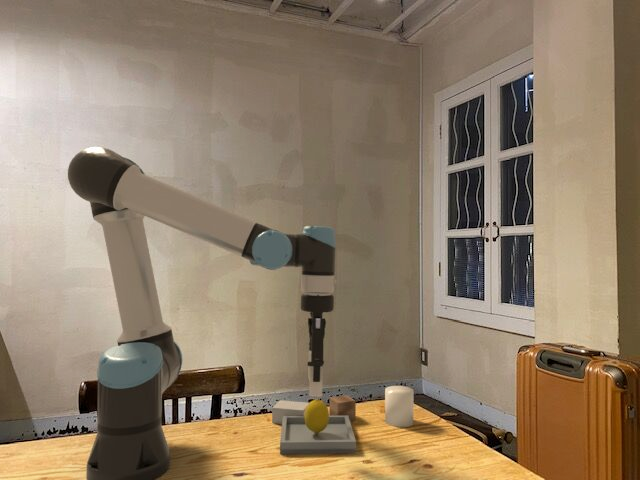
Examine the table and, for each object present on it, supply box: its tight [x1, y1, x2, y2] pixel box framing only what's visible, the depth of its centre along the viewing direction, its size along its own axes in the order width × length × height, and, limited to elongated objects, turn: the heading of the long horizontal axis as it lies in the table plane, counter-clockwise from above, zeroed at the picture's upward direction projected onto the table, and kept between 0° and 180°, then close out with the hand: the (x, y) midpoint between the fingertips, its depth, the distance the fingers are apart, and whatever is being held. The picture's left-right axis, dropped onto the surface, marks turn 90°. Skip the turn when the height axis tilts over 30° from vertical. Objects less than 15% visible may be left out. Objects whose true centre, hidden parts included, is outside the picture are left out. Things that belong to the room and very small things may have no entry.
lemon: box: [305, 398, 329, 434], centre depth 109 cm, size 6×6×8 cm
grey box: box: [271, 399, 310, 425], centre depth 120 cm, size 8×6×4 cm
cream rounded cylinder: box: [384, 385, 415, 428], centre depth 119 cm, size 7×7×8 cm
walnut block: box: [328, 394, 357, 422], centre depth 122 cm, size 5×5×5 cm
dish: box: [279, 415, 357, 455], centre depth 108 cm, size 16×16×2 cm
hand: (314, 387), depth 109 cm, fingers open, 13 cm apart
